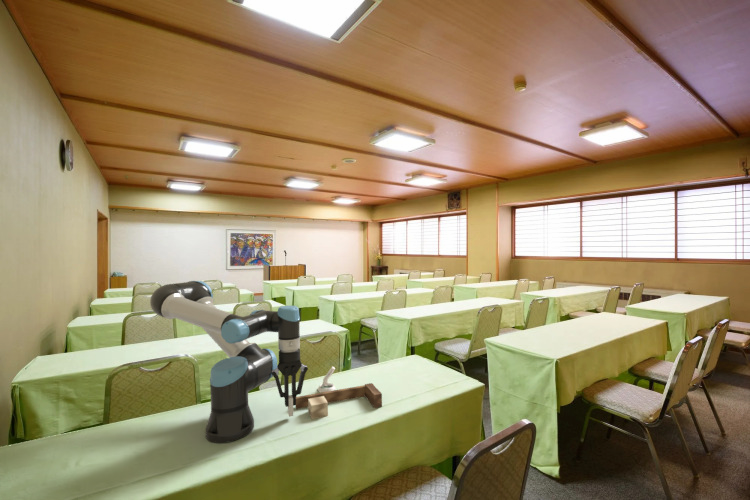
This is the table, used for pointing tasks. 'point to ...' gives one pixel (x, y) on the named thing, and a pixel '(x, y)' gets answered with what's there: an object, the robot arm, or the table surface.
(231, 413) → the robot arm
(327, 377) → the hook
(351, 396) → the guide rail
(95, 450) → the table surface
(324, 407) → the beige wooden block
